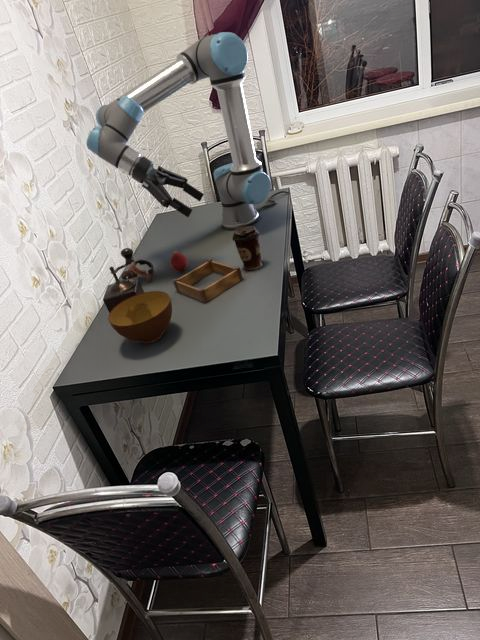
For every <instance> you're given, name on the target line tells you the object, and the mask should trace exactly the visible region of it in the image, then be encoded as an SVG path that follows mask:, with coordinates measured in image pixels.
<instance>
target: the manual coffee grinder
mask: <svg viewBox="0 0 480 640" xmlns="http://www.w3.org/2000/svg"><path fill="white" fill-rule="evenodd" d="M120 256H121V257H122V258H123V259H124V260H125V262H124V264H122V265H120V266H117V267H116V268H114V266H109V268H108V269H109V271H110V274H111V275H112V276H113V278H114V280H115V282H113V283H110V284H108V285H107V286H106V290H105V292H104V295H103V297H102V301H103V304H104V305H105V307H106V310H107V311H108V314H109V313H110V312H111V311H112V309H113V308H114V307H115V306H117V305H118V304H119V303H121V302H122V301H124V300H126V299H128V298H130V297H132V296H135V295H137V294H141V293H145V292H146V291H145V290H144V288H143V285H142V283H141V281H140V278H139V277H135V278H131V279H128V280H123V279H122V278H121V279H119V278H118V276H117V273H118V272H119V271H120V270H121V269H124V268H126V267H127V266H131V265H132V264H133V262H134V261H135V260H134V258H133V256H134V250H133V249H132V248H130V247H125V248H123V249H121V250H120Z"/></svg>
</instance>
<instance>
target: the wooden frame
mask: <svg viewBox="0 0 480 640" xmlns="http://www.w3.org/2000/svg"><path fill="white" fill-rule="evenodd" d="M212 273H215V274H219V275H221V276H223V277H221V278H219V279H218V280H216V281H214V282H213V283H211V284H210V285H208V286H206V287H205V288H198V287H196V286H192V285H194V284H195V283H197V282H199V281H201V280H202V279H204V278H205V277H208V276H209V275H210V274H212ZM243 280H244V278H243V274H242V270H241V267H240V266H236V267H234V266H232V265H228V264H225V263H223V262H222V263H221V262H219V261H216V260H213V259H212V258H209V259H207V261H206V262H204V263H203V264H201V265H199V266H198V267H196V268H194V269H192V270H190V271H189V272H187V273H186V274H184V275H182V276H180V277H179V278H174V279H172V283H173V285H174V288H175V290H176V292H177V293H180V294H182V295H186V296H187V297H190V298H193V299H195V300H197V301H200V302H201V303H204V304H207V303H208V302H209V301H210V300H212V299H214V298H216V297H217V296H219V295H220V294H222V293H223V292H225V291H227V290H228V289H230V288H232V287H234V285H236V284H238V283H239V282H242V281H243Z"/></svg>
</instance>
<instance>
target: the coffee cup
mask: <svg viewBox="0 0 480 640" xmlns="http://www.w3.org/2000/svg"><path fill="white" fill-rule="evenodd" d="M259 236H260V232H259V231H258V229H256V227H255V226H253V225H250V226H247V227H242V228H238V229H234V230H233V234H232V241H234V244H235V248H236V250H237V253H238V255H239V258H240V260H241V262H242V264H243V268H244V269H245V270H249V271H252V270H253V271H254V270H258V269H260V268H261V267H263V262H262V255H261V254H262V253H261V246H260V242H259Z"/></svg>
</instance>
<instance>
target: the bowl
mask: <svg viewBox="0 0 480 640" xmlns="http://www.w3.org/2000/svg"><path fill="white" fill-rule="evenodd" d="M144 292H145V293H141V294H137V295H135V296H132V297H130V298H128V299H126V300H124V301H122V302H121V303H119V304H118V305H117V306H115V307H114V308H113V309H112V311H111V312H110V313H109V312H108V316H107V319H108V322H109V324H110V326H111V327H112V329H113V330H114V331H115V332H116V333H117V334H119V335H120V336H121V337H123V338H125V339H127V340H128V341H132V342H137V343H144V344H152V343H154V342H157V341H158V340H160V339H161V338H162V336H163V334H164V333H165V332H166V330H168V327H169V325H170V322H171V320H172V315H173V304H172V303H173V302H172V299H171V297H170V295H169V293H166V292H165V291H161V290H160V291H159V290H153V291H152V290H150V291H144Z"/></svg>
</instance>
